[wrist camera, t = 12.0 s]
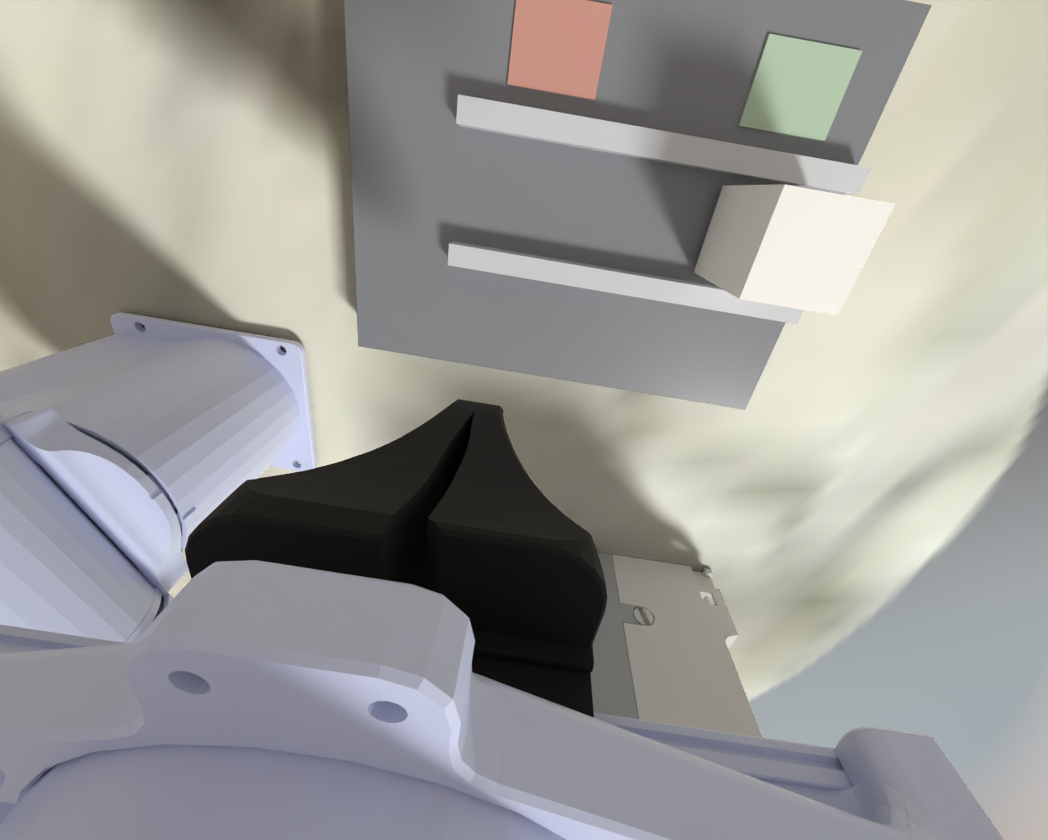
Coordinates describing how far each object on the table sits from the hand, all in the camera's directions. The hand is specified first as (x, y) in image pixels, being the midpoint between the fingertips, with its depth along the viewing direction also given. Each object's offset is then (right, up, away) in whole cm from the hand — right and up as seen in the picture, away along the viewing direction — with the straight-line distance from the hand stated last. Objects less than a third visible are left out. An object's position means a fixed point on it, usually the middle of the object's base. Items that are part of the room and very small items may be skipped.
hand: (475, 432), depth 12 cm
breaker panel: (+4, +9, +5) cm, 11 cm away
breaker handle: (+10, +7, +3) cm, 13 cm away
